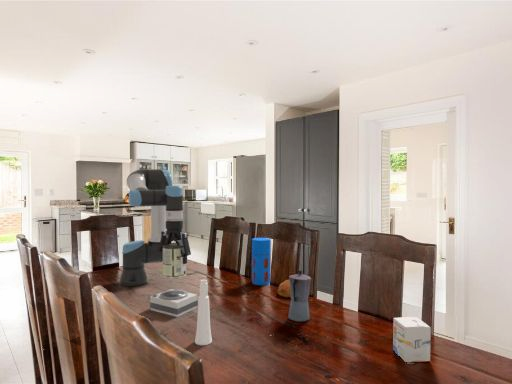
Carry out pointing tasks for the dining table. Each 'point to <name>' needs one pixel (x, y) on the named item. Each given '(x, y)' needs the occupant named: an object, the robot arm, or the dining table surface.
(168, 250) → the coffee can
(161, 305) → the kitchen scale
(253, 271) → the thermos
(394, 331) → the ink box
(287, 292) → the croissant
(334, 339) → the dining table surface
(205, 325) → the cosmetic bottle
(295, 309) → the moka pot
